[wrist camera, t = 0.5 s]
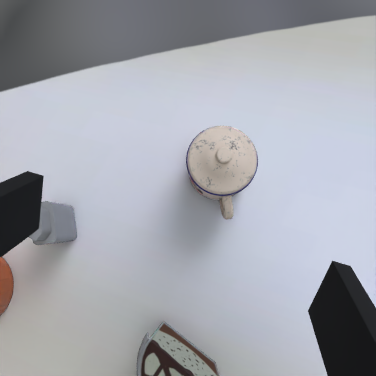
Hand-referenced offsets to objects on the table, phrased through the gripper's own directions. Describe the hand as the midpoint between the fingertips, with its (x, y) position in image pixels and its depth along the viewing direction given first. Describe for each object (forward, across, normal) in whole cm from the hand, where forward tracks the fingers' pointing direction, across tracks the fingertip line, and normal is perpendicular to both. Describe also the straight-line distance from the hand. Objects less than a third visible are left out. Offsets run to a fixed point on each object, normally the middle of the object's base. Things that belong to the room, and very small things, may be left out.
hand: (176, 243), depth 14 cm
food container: (+22, -3, +31) cm, 38 cm away
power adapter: (+28, +19, +19) cm, 39 cm away
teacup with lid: (+34, -2, +8) cm, 35 cm away
